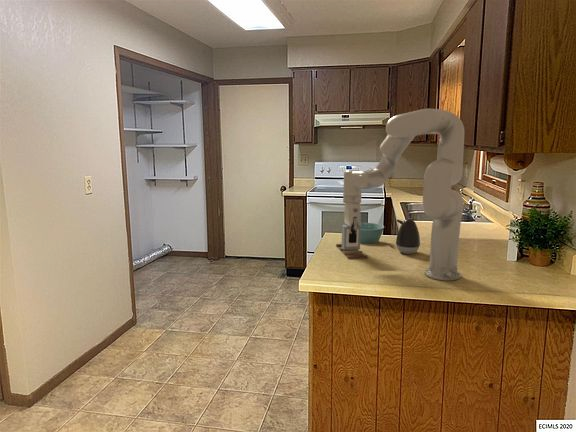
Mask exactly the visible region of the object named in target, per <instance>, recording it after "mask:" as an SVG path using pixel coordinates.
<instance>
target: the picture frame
mask: <svg viewBox="0 0 576 432" xmlns="http://www.w3.org/2000/svg"><path fill="white" fill-rule="evenodd" d="M352 226H353V225H352ZM357 228H358V229H357V240H356V243H349V234H350V227H349V226H348V225H346V224H342V225H341V244H342V248H343V249H344V250H356V249H358V250H361V244H360V231H361V226H360V227H358V226H357ZM352 229H353V228H352Z"/></svg>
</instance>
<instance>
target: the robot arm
mask: <svg viewBox="0 0 576 432" xmlns="http://www.w3.org/2000/svg"><path fill="white" fill-rule="evenodd" d="M385 132H386V137H385V138H384V140H383V141H382V143H381V144H380V146H379V151H380V153H381V155H382V156H381V158H380V161H379V162H378V163H377V165H376V167H375V168H374V169H367V170H359V169H346V170H345V171H344V172H343V190H342V191H343V195H342V197H343V198H342V199H343V200H342V201H343V202H342V203H343V204H344V213H343V214H344V215H343V220H344V221H343V222H344V225H348V226H349V227H350V234H349V243H356V240H357V229H358V228H357V226H358V227H360V226H361V223H362V216H361V215H362V213H361V204H362V190H371V189H377V188H380V187H381V186H383V185H384V184H385V183H387V181H388V180H389V179H390V177H391V176H392V174H393V173H394V172H395V169H396V166H397V164H398V161H399V158H400V157H401V156H402V154H403V153H404V152H405V150H406V149H407V147H408V146H409V145H410V143H411V142H412V141H413V140H414V138H415V137H416V136H423V135H438V136H439V140H438V144H437V153H436V154H437V155H436V160H433V161H431V163H429V164H428V166H427V167H426V168H425V170H424V174H423V186H422V210H423V212H424V214H425V215H426V217H428V218H429V219H431V220H432V225H431V235H430V249H429V252H430V253H429V265H428V266H429V268H426V269H424V275H425V276H427V277H429V278H431V279H434V280H440V281H457V280H460V279H461V277H462V273H461V272H460V271H458V259H459V248H460V247H459V246H460V245H459V244H460V234H461V226H462V225H461V223H462V217H463V213H464V208H465V205H464V203H465V202H464V198H463V195H462V194H461V193H459V192H458V191H457V190H454V189H452V186H454V185H456V184H459V182H461V180H462V177H463V172H464V170H463V169H464V155H465V153H464V150H465V149H464V147H465V126H464V124H463V121H462V120H461V118H460V117H458V115H456V114H455V113H453V112H451V111H448V110H444V109H441V108H430V107H429V108H428V107H427V108H422V109H417V110H414V111H409V112H405V113H400V114H396V115H394V116H392V117H391V118H390V119H388V121H387V123H386V125H385ZM352 225H353V226H352ZM352 228H353V229H352Z"/></svg>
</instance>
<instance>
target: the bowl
mask: <svg viewBox="0 0 576 432" xmlns="http://www.w3.org/2000/svg"><path fill="white" fill-rule="evenodd" d="M384 229H385V226H384V225H382V224H380V223H373V222H361V231H360V245H361V244H377V243H379V241H380V238H381V236H382V235H383V232H384Z"/></svg>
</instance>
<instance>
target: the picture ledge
mask: <svg viewBox="0 0 576 432" xmlns="http://www.w3.org/2000/svg"><path fill="white" fill-rule="evenodd" d="M335 247H336V248H337V249H338V250H339V251H340V252H341V254H342V255H344V256H345V257H346V258H347V259H348V260H352V259H353V260H357V259H367V258H368V255H367V254H363V250H360V249H356V250H344V249H343V248H342V243H336V244H335Z"/></svg>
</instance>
